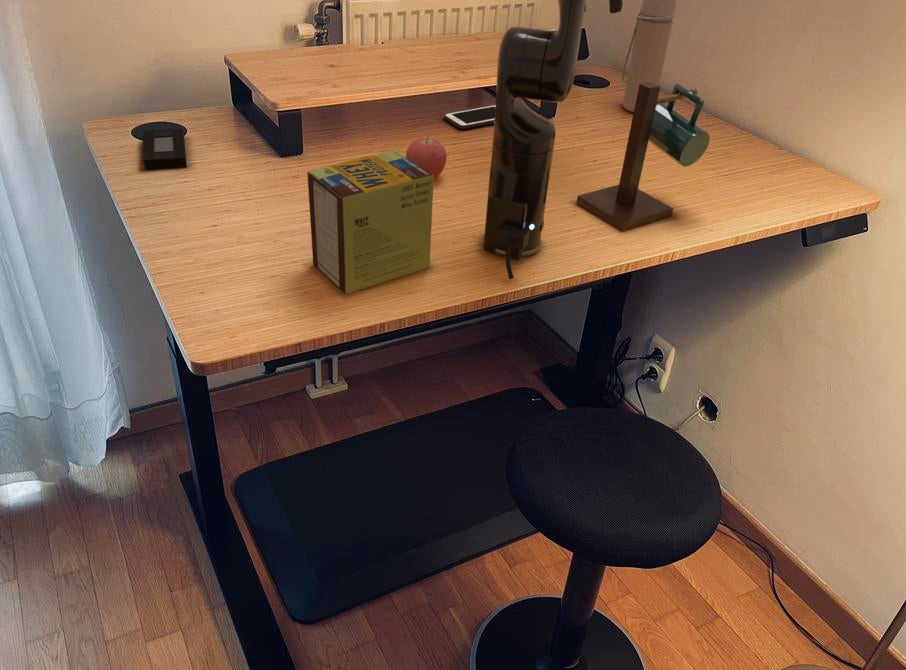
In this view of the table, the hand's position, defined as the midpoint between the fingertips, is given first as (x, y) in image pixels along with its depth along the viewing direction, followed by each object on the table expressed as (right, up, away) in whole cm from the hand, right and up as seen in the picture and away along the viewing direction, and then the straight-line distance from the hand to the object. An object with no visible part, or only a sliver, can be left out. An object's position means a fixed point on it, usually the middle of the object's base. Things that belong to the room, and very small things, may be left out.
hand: (598, 13), depth 137 cm
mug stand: (+8, -33, +5) cm, 34 cm away
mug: (+16, -24, -6) cm, 29 cm away
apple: (-30, -26, +10) cm, 42 cm away
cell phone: (-19, -7, +35) cm, 40 cm away
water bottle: (+18, -1, +45) cm, 48 cm away
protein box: (-39, -47, -16) cm, 63 cm away
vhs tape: (-81, -21, +14) cm, 84 cm away
